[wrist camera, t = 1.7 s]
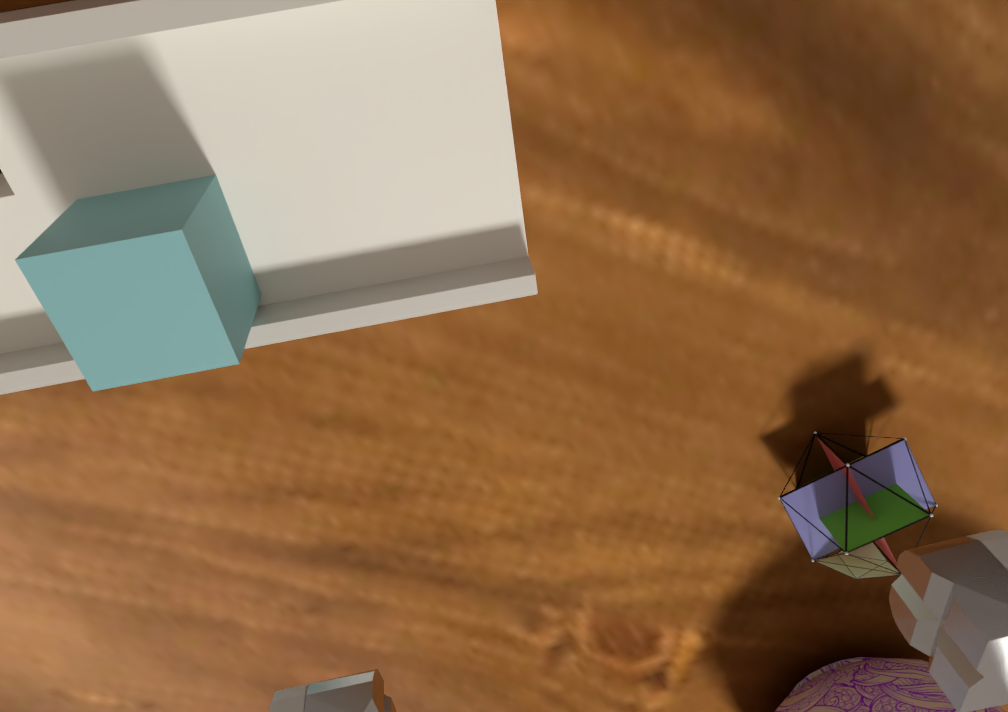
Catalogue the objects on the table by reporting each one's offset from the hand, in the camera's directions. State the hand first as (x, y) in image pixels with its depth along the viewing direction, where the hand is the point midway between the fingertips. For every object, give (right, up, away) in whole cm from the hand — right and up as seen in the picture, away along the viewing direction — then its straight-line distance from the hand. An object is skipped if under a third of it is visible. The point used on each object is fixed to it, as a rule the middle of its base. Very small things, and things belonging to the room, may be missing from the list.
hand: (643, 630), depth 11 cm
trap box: (-17, +11, +14) cm, 25 cm away
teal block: (-13, +8, +13) cm, 20 cm away
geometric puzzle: (+16, -1, +28) cm, 32 cm away
